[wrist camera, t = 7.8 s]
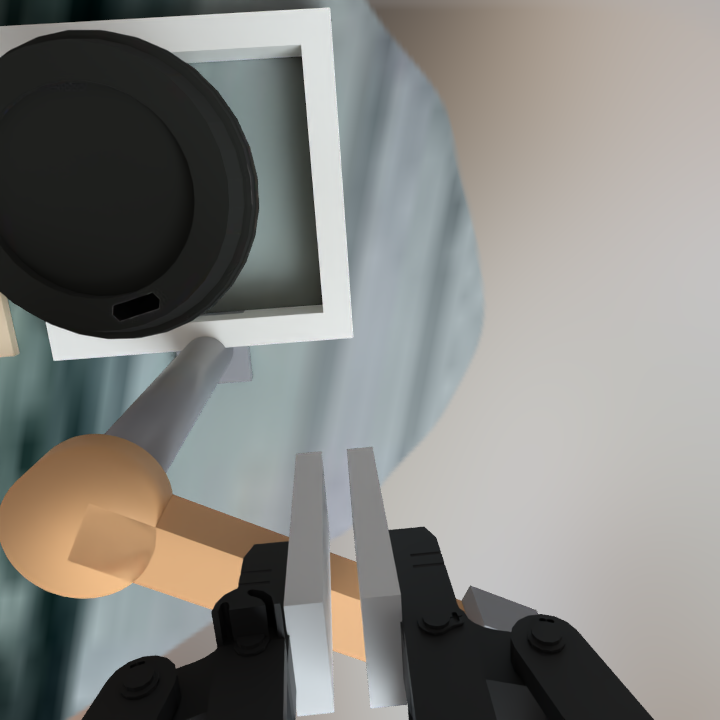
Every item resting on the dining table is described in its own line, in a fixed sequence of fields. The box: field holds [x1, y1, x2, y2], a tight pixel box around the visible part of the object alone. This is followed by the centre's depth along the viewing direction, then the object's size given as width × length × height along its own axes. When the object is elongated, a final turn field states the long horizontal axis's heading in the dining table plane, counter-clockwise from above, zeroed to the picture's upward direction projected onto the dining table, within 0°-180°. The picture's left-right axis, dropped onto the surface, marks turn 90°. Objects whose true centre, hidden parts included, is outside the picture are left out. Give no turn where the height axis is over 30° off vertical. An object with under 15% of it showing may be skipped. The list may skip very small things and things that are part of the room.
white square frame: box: [0, 8, 353, 473], centre depth 24 cm, size 18×16×18 cm
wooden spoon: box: [0, 434, 538, 662], centre depth 17 cm, size 16×4×2 cm, turn 65°
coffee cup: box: [0, 30, 259, 339], centre depth 25 cm, size 10×10×15 cm
